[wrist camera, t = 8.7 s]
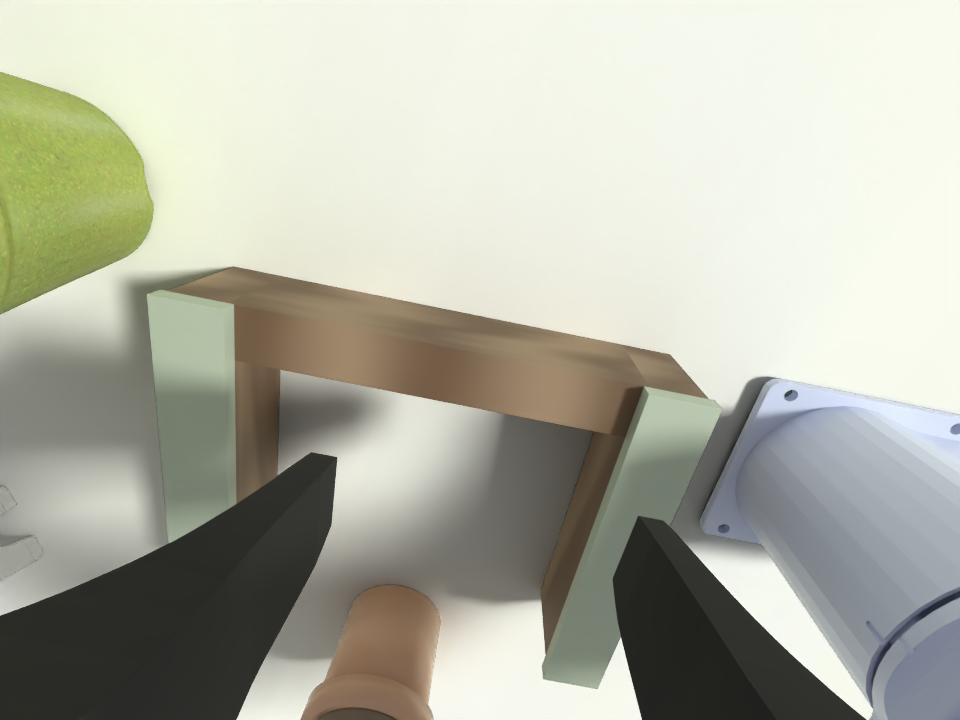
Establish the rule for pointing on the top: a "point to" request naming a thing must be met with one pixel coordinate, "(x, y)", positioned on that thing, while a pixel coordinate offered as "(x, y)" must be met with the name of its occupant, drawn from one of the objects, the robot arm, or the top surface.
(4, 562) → the portable electronic device stand
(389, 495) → the top surface
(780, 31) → the top surface
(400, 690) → the seedling pot
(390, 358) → the green brown u-shaped frame
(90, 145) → the plant pot
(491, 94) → the top surface
